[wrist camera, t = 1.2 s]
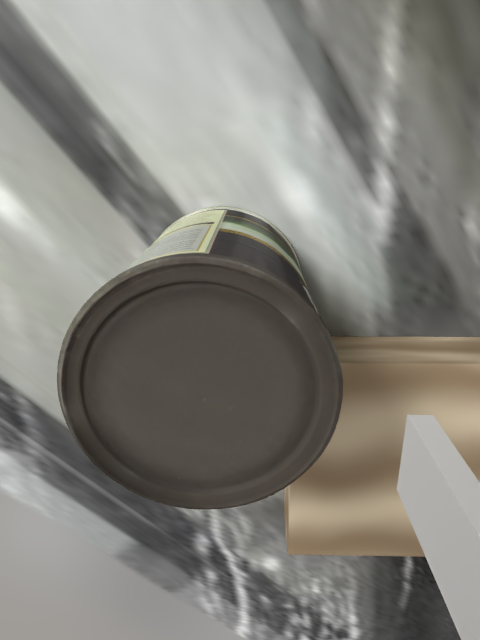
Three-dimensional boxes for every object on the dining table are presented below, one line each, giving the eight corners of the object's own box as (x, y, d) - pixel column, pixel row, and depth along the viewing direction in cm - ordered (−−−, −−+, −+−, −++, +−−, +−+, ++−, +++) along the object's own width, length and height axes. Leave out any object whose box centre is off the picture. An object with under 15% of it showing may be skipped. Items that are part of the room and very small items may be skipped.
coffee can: (312, 210, 28) (366, 269, 15) (292, 363, 31) (323, 520, 18) (142, 197, 28) (43, 245, 14) (143, 352, 31) (64, 502, 18)
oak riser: (290, 336, 31) (295, 362, 27) (517, 337, 30) (554, 364, 27) (284, 511, 36) (287, 554, 32) (476, 514, 36) (503, 557, 32)
